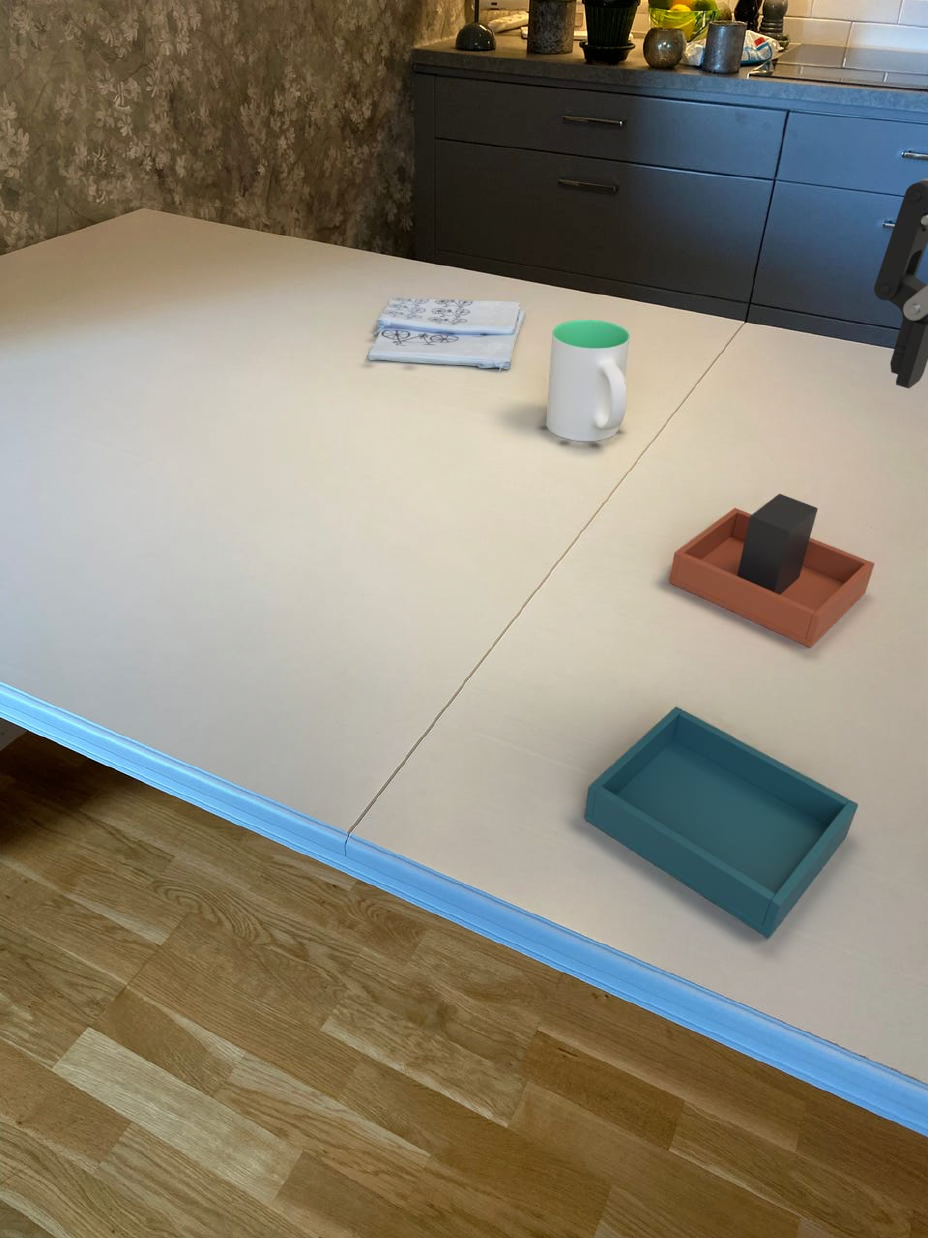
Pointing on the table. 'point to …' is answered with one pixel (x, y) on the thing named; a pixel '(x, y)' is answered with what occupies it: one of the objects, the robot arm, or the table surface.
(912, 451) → the table surface
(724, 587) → the terracotta bin
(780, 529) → the block
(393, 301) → the light blue folded towel
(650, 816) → the teal bin
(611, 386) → the mug
